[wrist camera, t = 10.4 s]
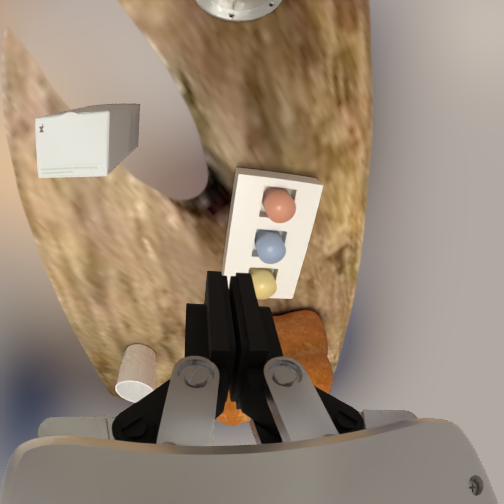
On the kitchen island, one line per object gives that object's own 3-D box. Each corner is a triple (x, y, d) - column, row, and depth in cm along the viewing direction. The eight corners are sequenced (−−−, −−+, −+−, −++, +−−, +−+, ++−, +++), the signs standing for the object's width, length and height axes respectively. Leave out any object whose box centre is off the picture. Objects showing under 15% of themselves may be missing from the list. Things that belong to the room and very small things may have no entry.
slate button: (256, 225, 45) (260, 238, 42) (282, 228, 46) (288, 240, 43) (252, 249, 47) (255, 263, 44) (277, 250, 48) (282, 264, 45)
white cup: (120, 339, 56) (112, 378, 48) (158, 343, 58) (154, 383, 49) (124, 363, 60) (118, 400, 51) (159, 367, 62) (156, 404, 53)
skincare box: (86, 147, 37) (34, 181, 24) (87, 102, 34) (31, 116, 21) (140, 147, 39) (107, 180, 25) (143, 100, 36) (108, 109, 22)
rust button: (264, 184, 42) (269, 193, 39) (291, 187, 43) (298, 197, 40) (259, 210, 44) (264, 221, 41) (285, 212, 45) (292, 224, 42)
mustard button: (249, 262, 49) (253, 277, 45) (274, 264, 49) (279, 278, 46) (245, 283, 51) (248, 298, 47) (269, 284, 51) (273, 299, 48)
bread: (317, 353, 66) (340, 416, 51) (202, 372, 64) (205, 440, 50) (321, 302, 58) (353, 371, 43) (185, 323, 56) (184, 400, 41)
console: (236, 167, 42) (238, 174, 39) (315, 178, 45) (323, 185, 42) (220, 283, 52) (221, 295, 49) (287, 286, 54) (292, 298, 51)
